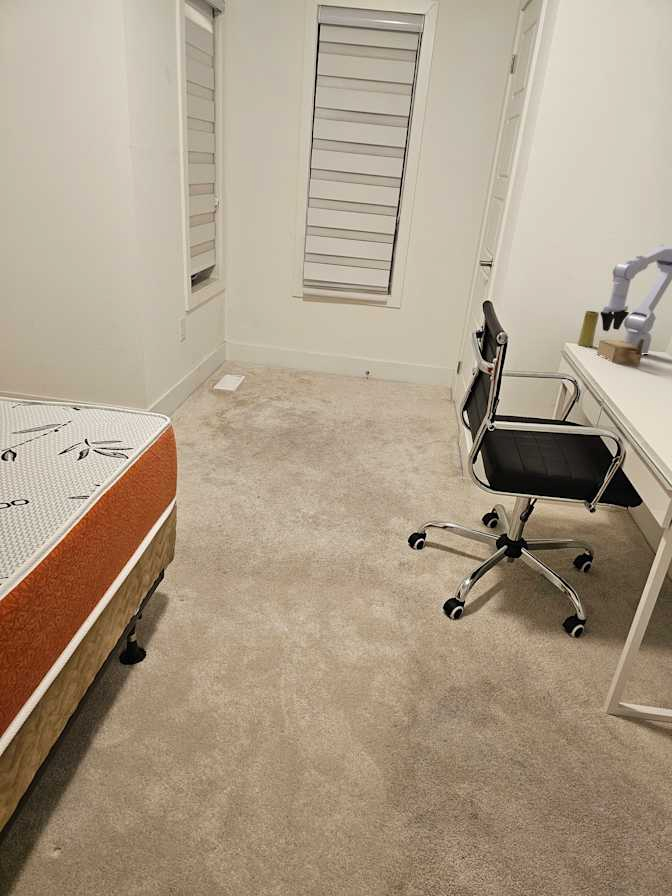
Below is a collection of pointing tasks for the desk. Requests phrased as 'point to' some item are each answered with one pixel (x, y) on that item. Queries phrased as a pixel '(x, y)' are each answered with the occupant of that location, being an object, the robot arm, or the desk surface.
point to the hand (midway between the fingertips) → (610, 329)
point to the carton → (613, 347)
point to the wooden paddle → (629, 355)
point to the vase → (588, 328)
